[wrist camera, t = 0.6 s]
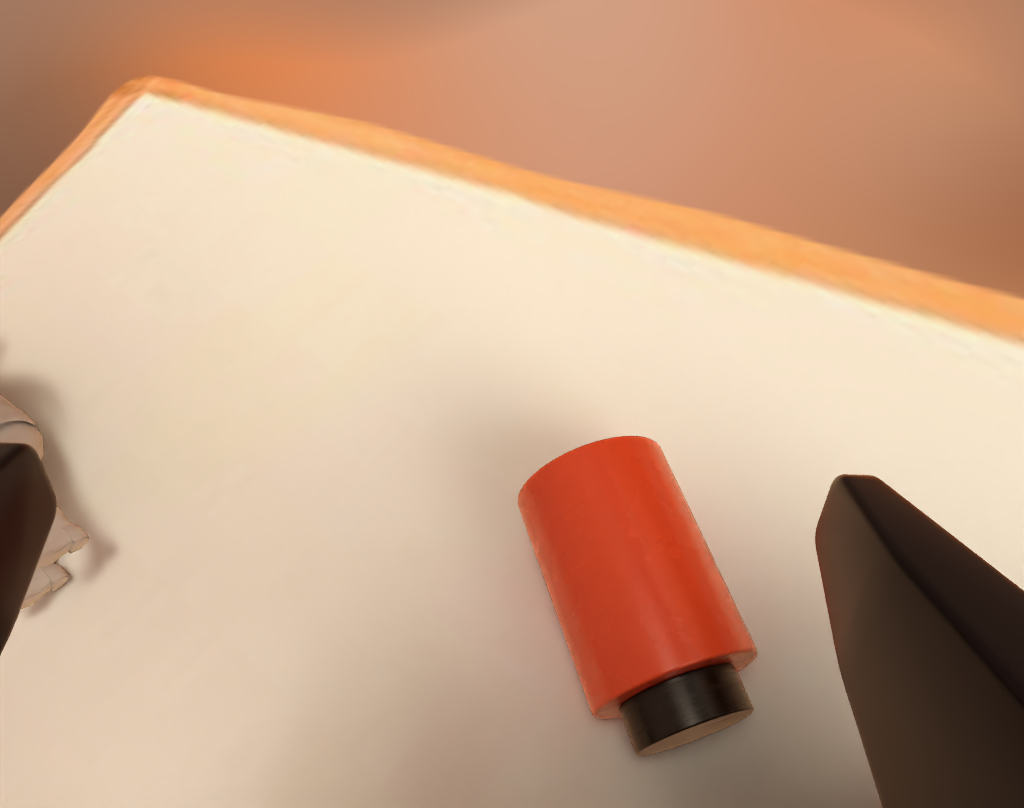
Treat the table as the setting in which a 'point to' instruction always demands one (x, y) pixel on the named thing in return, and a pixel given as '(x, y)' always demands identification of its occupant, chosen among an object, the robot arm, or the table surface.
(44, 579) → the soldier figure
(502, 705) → the table surface
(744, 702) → the bottle
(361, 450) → the table surface
